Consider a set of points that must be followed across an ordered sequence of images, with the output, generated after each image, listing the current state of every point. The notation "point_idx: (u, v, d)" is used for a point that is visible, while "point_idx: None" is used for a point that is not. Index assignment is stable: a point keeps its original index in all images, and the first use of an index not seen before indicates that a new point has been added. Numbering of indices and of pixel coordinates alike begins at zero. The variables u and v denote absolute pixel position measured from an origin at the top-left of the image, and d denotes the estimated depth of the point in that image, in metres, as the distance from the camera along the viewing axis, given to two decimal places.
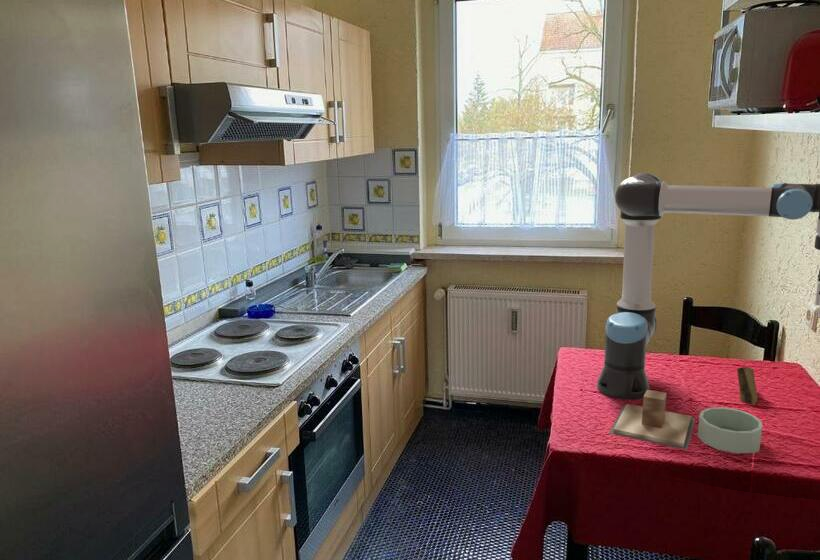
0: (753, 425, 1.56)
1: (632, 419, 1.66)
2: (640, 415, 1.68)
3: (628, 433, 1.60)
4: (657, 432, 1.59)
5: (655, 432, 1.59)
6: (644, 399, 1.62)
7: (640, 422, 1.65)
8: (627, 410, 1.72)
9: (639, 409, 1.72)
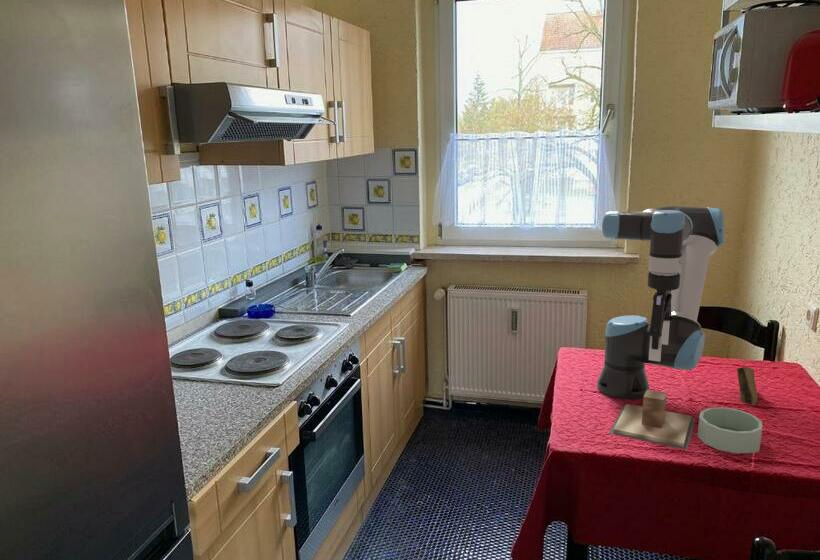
0: (753, 425, 1.56)
1: (632, 419, 1.66)
2: (640, 415, 1.68)
3: (628, 433, 1.60)
4: (657, 432, 1.59)
5: (655, 432, 1.59)
6: (644, 399, 1.62)
7: (640, 422, 1.65)
8: (627, 410, 1.72)
9: (639, 409, 1.72)
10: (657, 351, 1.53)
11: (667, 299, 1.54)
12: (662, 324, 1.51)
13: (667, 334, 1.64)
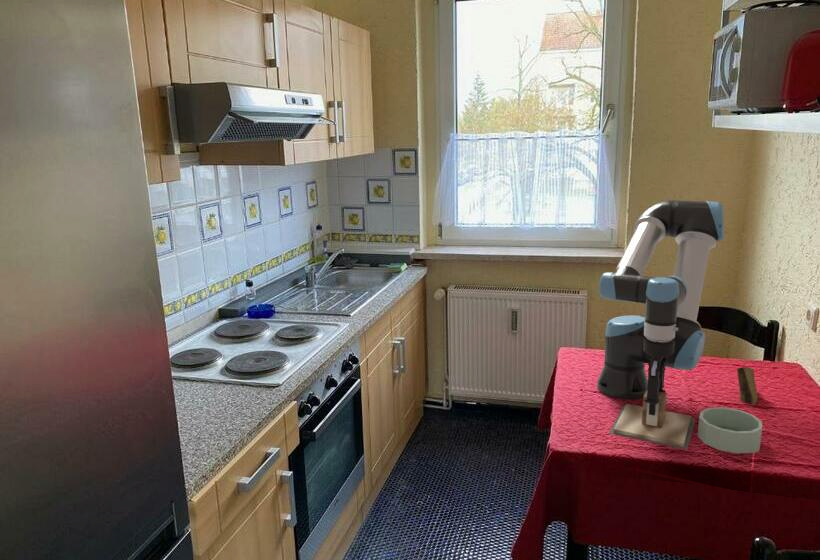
0: (753, 425, 1.56)
1: (632, 419, 1.66)
2: (640, 415, 1.69)
3: (628, 433, 1.60)
4: (657, 432, 1.59)
5: (655, 432, 1.59)
6: (644, 399, 1.62)
7: (640, 422, 1.65)
8: (627, 410, 1.72)
9: (639, 409, 1.72)
10: (654, 416, 1.61)
11: (662, 365, 1.58)
12: (658, 391, 1.58)
13: None
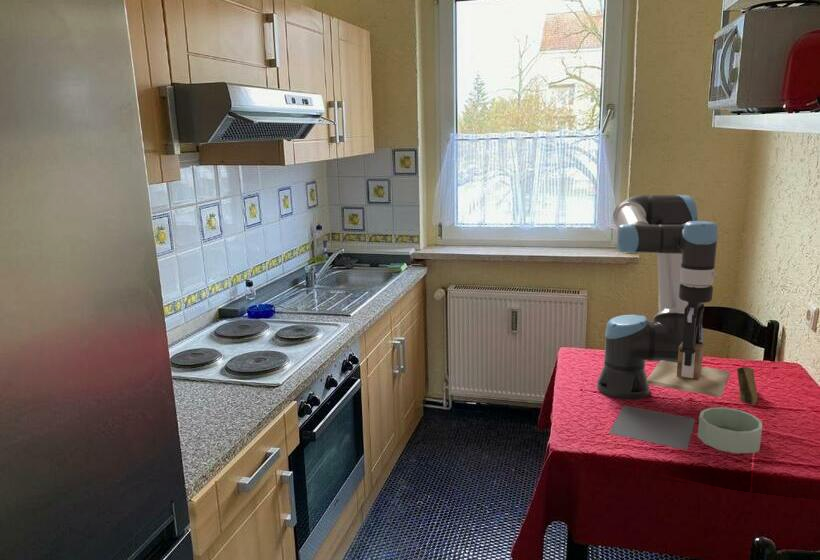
0: (753, 425, 1.56)
1: (666, 372, 1.59)
2: (675, 369, 1.61)
3: (662, 384, 1.52)
4: (693, 383, 1.51)
5: (691, 383, 1.51)
6: (679, 350, 1.54)
7: (675, 375, 1.57)
8: (661, 365, 1.64)
9: (674, 364, 1.65)
10: (690, 368, 1.53)
11: (699, 313, 1.51)
12: (695, 340, 1.51)
13: None
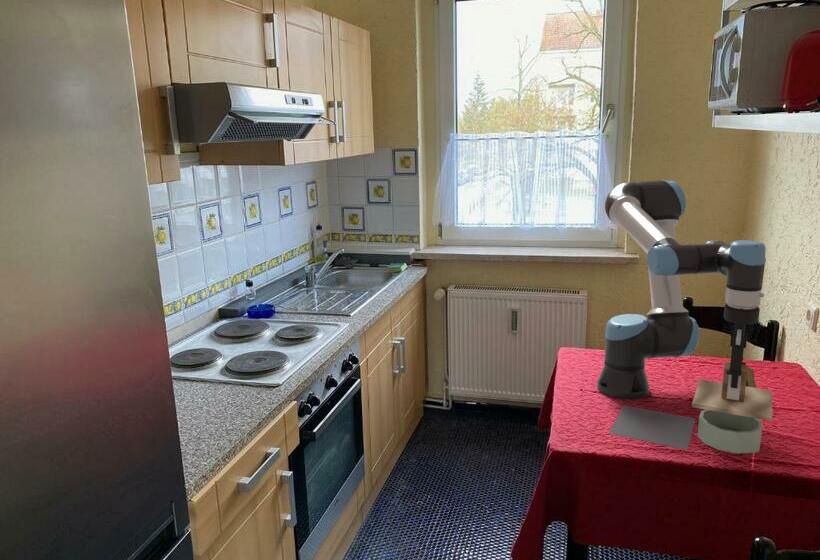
0: (753, 425, 1.56)
1: (709, 394, 1.56)
2: (717, 390, 1.58)
3: (709, 407, 1.49)
4: (740, 406, 1.48)
5: (738, 406, 1.48)
6: (725, 371, 1.51)
7: (719, 396, 1.54)
8: (701, 385, 1.61)
9: (714, 384, 1.61)
10: (736, 390, 1.50)
11: (746, 334, 1.47)
12: None
13: None
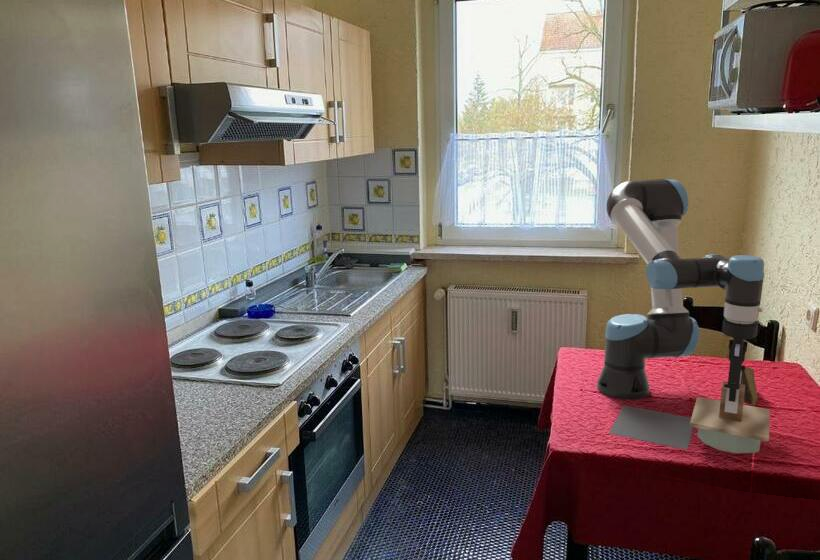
0: None
1: (707, 412, 1.57)
2: (715, 408, 1.59)
3: (706, 427, 1.50)
4: (737, 425, 1.50)
5: (735, 426, 1.50)
6: (722, 391, 1.52)
7: (717, 416, 1.55)
8: (699, 403, 1.62)
9: (712, 402, 1.63)
10: (734, 403, 1.48)
11: (744, 348, 1.48)
12: None
13: None
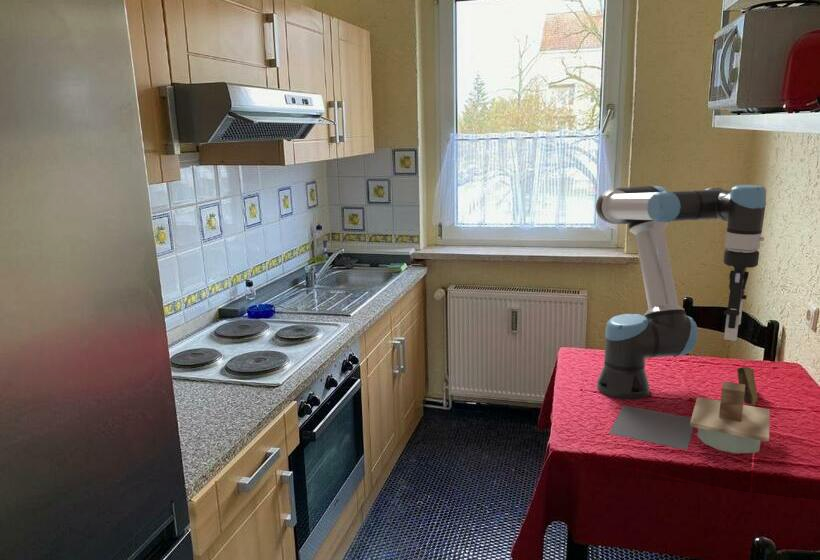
0: None
1: (707, 412, 1.57)
2: (715, 408, 1.59)
3: (706, 427, 1.50)
4: (737, 425, 1.50)
5: (735, 426, 1.50)
6: (722, 391, 1.52)
7: (717, 416, 1.55)
8: (699, 403, 1.62)
9: (712, 402, 1.63)
10: (734, 330, 1.48)
11: (745, 277, 1.49)
12: (740, 302, 1.47)
13: (740, 313, 1.59)
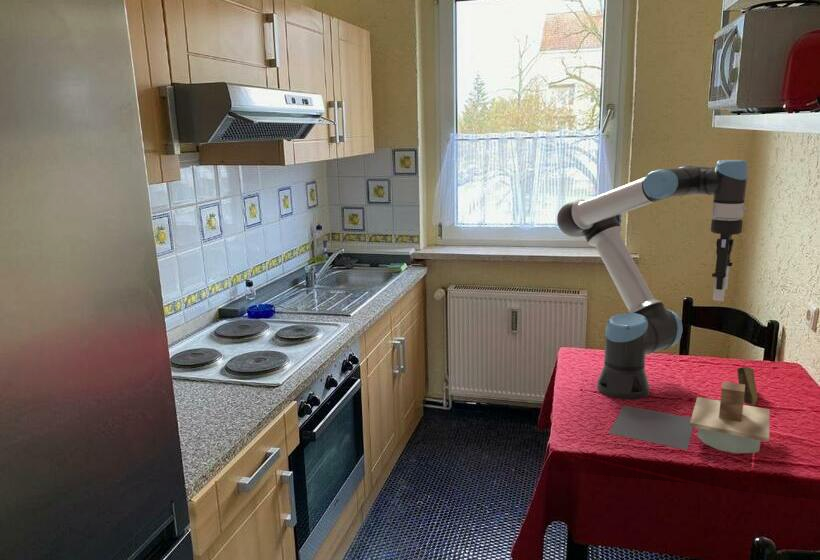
0: None
1: (707, 412, 1.57)
2: (715, 408, 1.59)
3: (706, 427, 1.50)
4: (737, 425, 1.50)
5: (735, 426, 1.50)
6: (722, 391, 1.52)
7: (717, 416, 1.55)
8: (699, 403, 1.62)
9: (712, 402, 1.63)
10: (721, 291, 1.64)
11: (730, 243, 1.65)
12: (726, 266, 1.62)
13: (727, 279, 1.75)
